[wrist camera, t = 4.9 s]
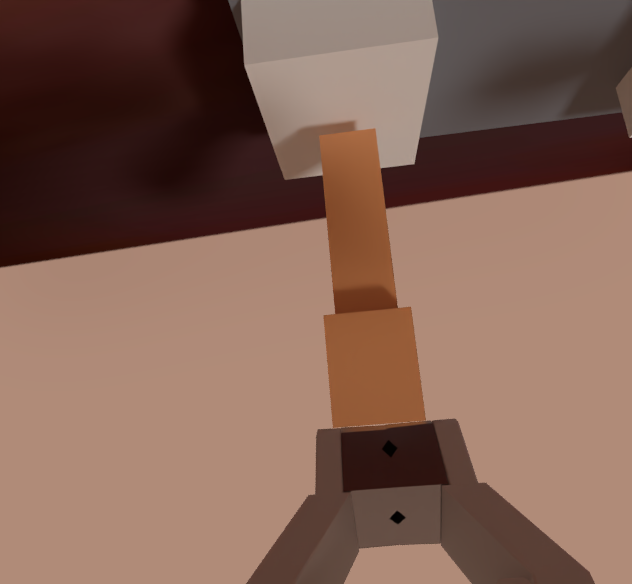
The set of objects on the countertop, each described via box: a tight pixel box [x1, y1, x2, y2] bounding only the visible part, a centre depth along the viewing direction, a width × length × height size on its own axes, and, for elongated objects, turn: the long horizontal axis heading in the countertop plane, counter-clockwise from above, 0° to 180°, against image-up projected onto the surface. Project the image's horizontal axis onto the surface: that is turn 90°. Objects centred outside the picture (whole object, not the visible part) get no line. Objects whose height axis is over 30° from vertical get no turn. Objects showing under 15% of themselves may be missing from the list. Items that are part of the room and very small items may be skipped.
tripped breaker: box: [319, 128, 426, 428], centre depth 20 cm, size 3×4×12 cm
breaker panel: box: [228, 0, 632, 180], centre depth 22 cm, size 26×14×6 cm, turn 96°
